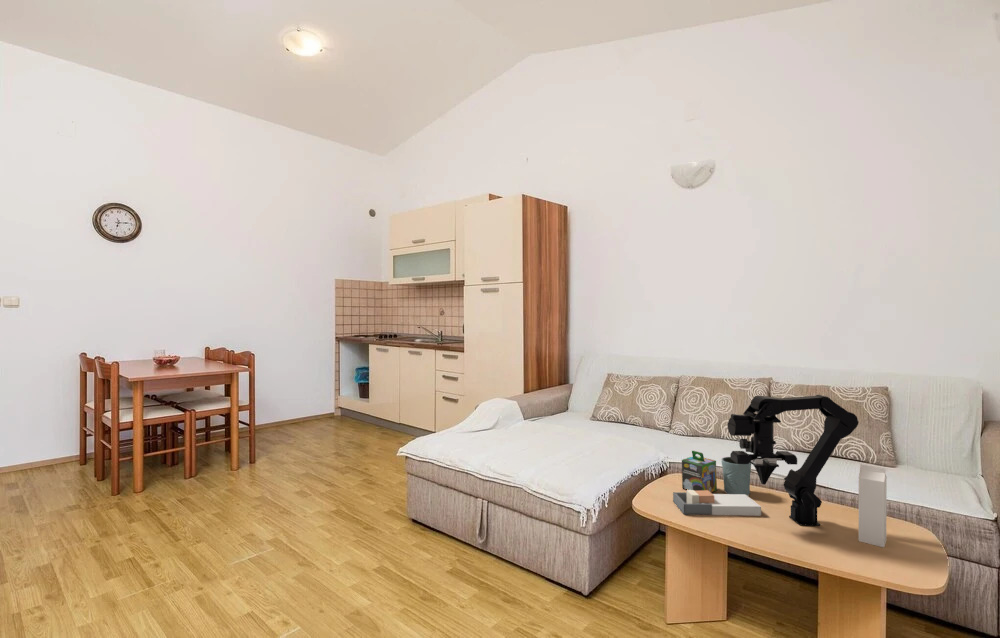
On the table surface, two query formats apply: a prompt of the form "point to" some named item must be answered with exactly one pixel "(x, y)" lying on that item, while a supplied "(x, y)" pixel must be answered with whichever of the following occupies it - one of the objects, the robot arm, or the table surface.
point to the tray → (690, 505)
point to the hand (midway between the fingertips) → (763, 484)
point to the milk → (872, 505)
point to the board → (734, 505)
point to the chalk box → (699, 473)
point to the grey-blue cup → (736, 477)
